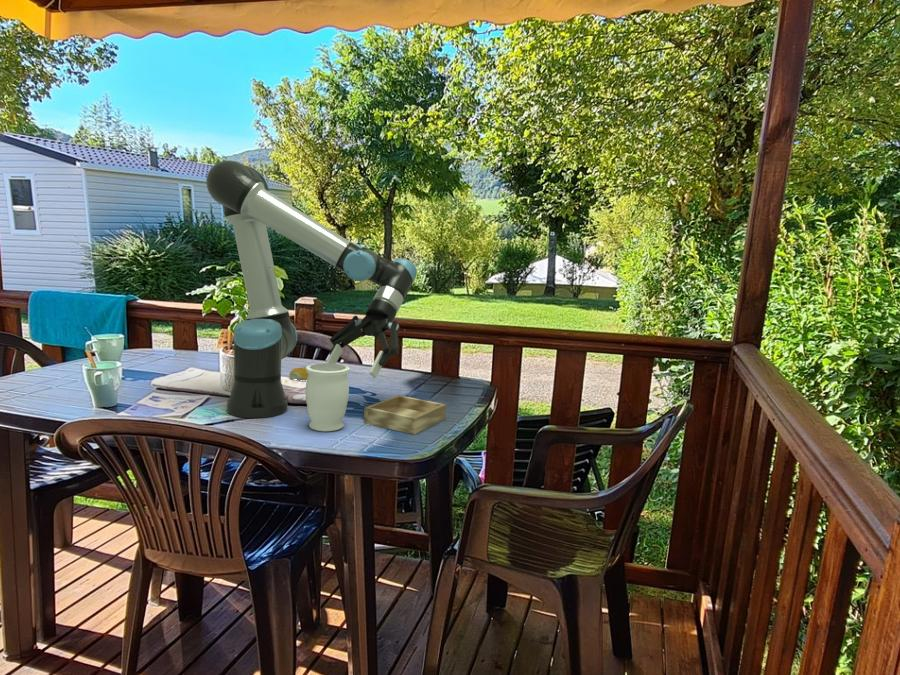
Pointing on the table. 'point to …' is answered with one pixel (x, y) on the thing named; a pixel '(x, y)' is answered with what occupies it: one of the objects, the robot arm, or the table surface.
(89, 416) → the table surface
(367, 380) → the table surface
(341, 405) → the jar
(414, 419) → the holder
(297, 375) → the bread roll
